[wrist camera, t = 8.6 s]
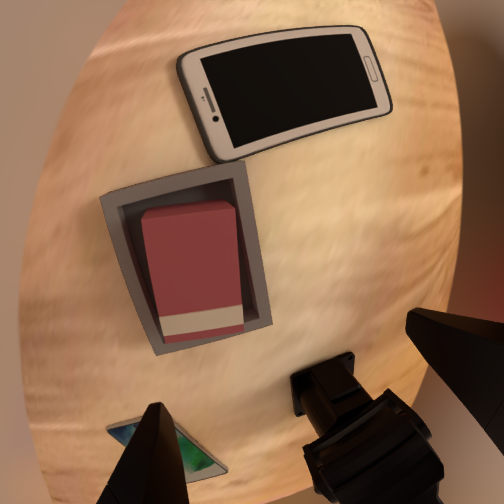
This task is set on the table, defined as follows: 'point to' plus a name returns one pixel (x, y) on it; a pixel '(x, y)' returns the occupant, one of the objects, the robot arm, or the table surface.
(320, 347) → the table surface
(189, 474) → the smartphone
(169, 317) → the card box
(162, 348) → the pocket tray
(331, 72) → the cell phone
